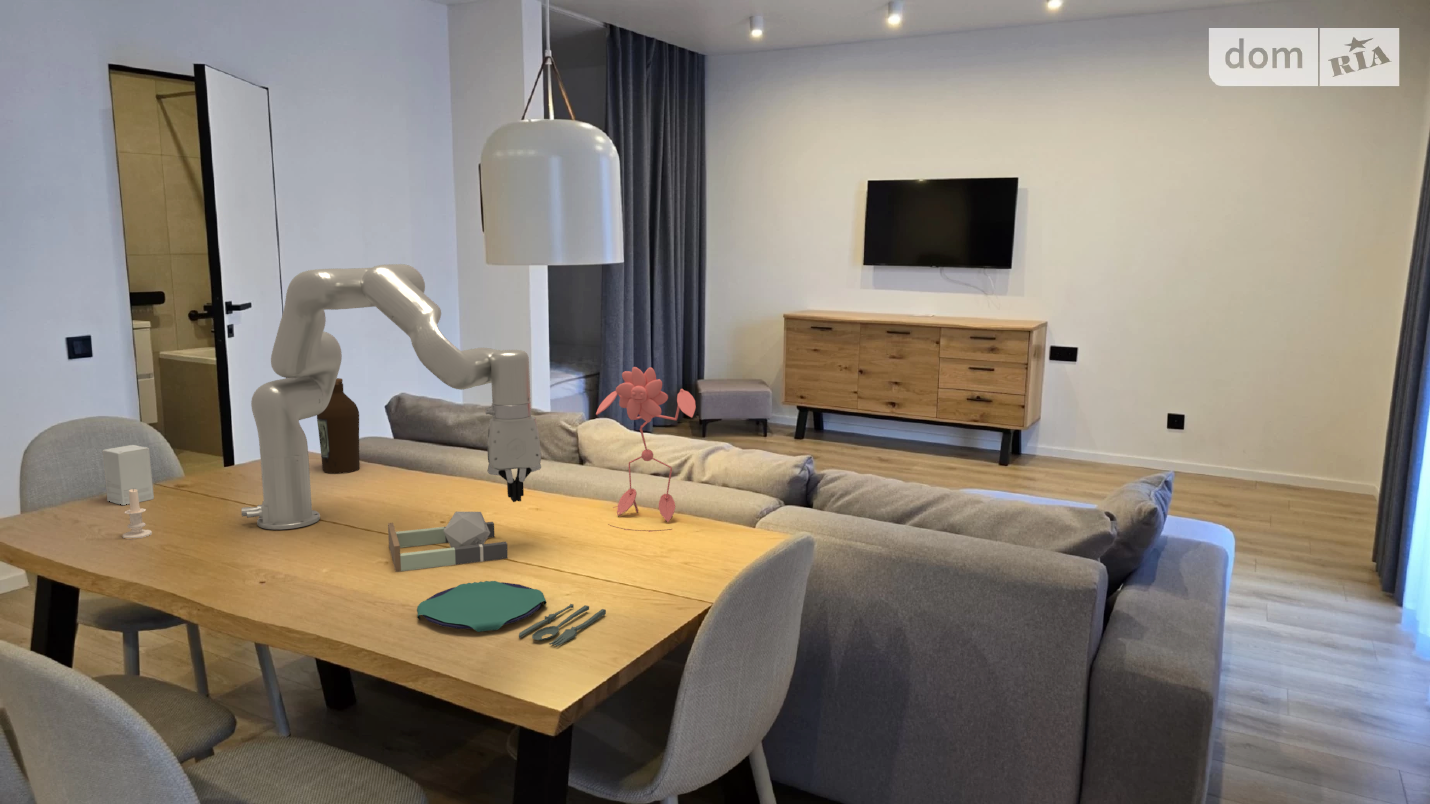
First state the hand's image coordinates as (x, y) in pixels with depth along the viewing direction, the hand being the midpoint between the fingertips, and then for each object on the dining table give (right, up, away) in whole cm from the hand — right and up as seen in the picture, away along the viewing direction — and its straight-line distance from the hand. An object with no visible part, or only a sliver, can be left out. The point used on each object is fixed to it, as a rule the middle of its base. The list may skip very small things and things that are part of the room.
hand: (515, 500), depth 190 cm
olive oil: (-61, +1, +64) cm, 89 cm away
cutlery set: (+6, -16, -35) cm, 39 cm away
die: (-9, -10, -2) cm, 14 cm away
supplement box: (-99, -4, +32) cm, 104 cm away
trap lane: (-13, -10, -4) cm, 17 cm away
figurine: (+24, -7, +19) cm, 31 cm away
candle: (-81, -8, +5) cm, 81 cm away
